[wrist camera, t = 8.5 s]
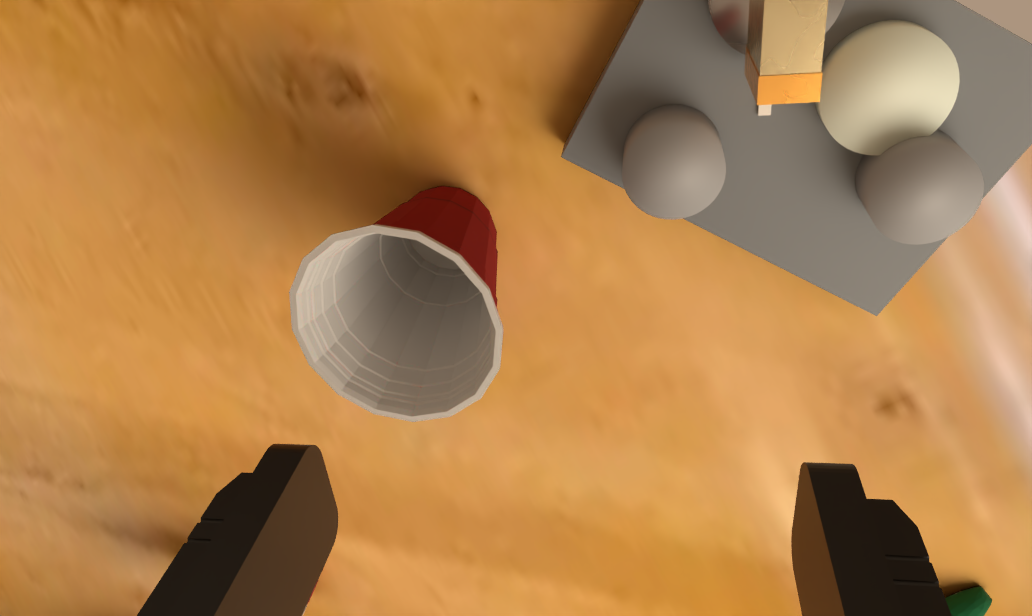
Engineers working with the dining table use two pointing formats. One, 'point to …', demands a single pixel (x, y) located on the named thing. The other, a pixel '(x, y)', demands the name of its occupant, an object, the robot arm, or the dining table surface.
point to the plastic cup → (405, 308)
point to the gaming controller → (969, 602)
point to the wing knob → (778, 44)
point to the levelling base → (816, 137)
